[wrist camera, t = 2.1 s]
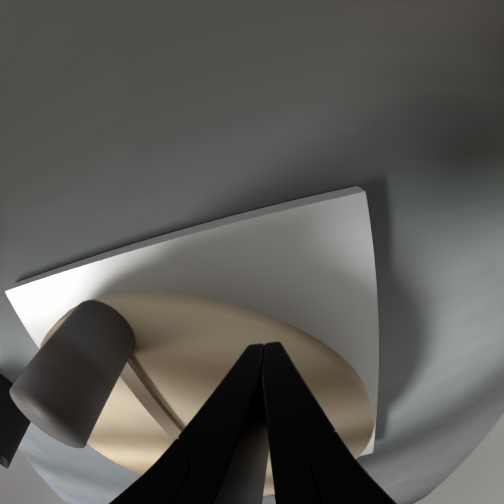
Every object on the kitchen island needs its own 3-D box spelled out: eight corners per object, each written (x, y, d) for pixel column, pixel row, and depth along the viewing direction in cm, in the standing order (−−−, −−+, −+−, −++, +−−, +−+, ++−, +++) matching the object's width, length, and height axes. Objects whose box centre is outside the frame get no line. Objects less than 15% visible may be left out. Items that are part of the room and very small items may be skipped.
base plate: (370, 442, 21) (372, 453, 19) (150, 458, 24) (147, 466, 23) (357, 185, 12) (365, 191, 11) (14, 283, 16) (4, 291, 15)
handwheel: (363, 454, 19) (374, 530, 12) (149, 465, 22) (132, 525, 15) (346, 210, 11) (448, 346, 4) (11, 297, 14) (-57, 366, 7)
